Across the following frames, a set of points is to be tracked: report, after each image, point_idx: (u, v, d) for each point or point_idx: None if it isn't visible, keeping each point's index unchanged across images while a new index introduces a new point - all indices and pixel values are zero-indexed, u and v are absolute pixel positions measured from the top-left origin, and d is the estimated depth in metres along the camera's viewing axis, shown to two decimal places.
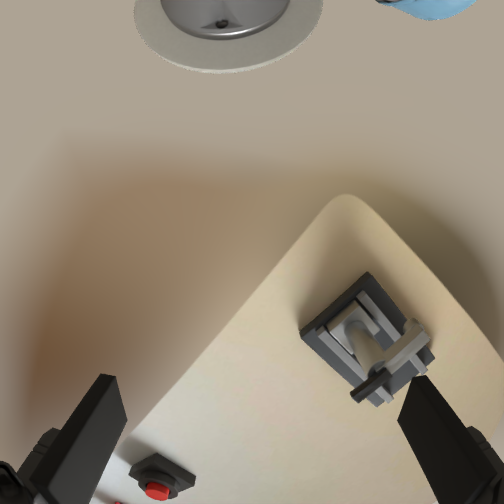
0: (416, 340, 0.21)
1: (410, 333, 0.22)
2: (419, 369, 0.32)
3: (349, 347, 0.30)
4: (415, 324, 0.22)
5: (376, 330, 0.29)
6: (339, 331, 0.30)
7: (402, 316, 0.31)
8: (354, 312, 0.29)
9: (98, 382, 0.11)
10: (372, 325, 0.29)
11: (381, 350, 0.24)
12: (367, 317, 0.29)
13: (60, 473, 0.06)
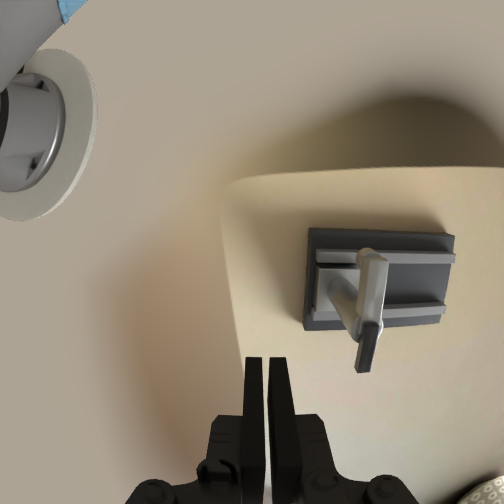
0: (372, 276, 0.18)
1: (363, 271, 0.19)
2: (445, 261, 0.27)
3: None
4: (361, 257, 0.19)
5: (359, 273, 0.26)
6: (324, 303, 0.27)
7: (380, 234, 0.28)
8: (321, 278, 0.26)
9: (249, 364, 0.13)
10: (350, 272, 0.26)
11: (355, 305, 0.21)
12: (338, 271, 0.26)
13: None
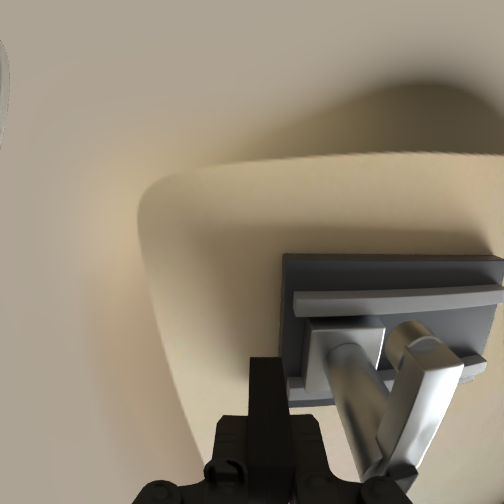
0: (423, 399, 0.07)
1: (402, 382, 0.07)
2: (494, 301, 0.15)
3: None
4: (402, 351, 0.08)
5: (379, 333, 0.15)
6: (319, 381, 0.15)
7: (402, 263, 0.16)
8: (314, 345, 0.15)
9: (254, 365, 0.13)
10: (365, 334, 0.15)
11: (375, 423, 0.09)
12: (344, 332, 0.15)
13: None
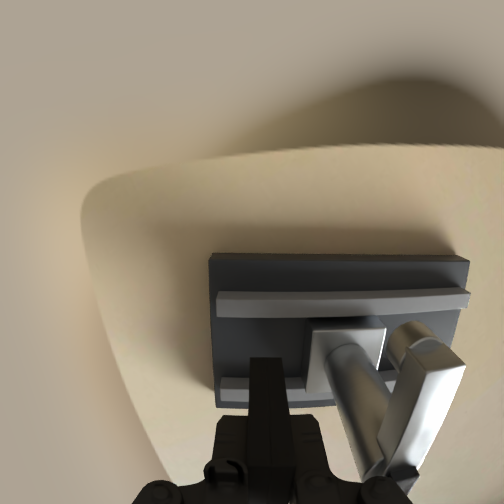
0: (425, 400, 0.06)
1: (404, 383, 0.07)
2: (453, 306, 0.15)
3: None
4: (403, 352, 0.08)
5: (380, 334, 0.15)
6: (319, 382, 0.15)
7: (337, 264, 0.16)
8: (314, 345, 0.15)
9: (254, 365, 0.13)
10: (366, 334, 0.15)
11: (376, 424, 0.09)
12: (345, 333, 0.15)
13: None
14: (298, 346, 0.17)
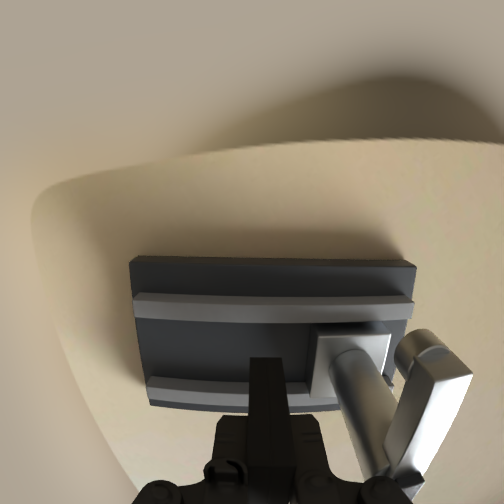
0: (432, 408, 0.06)
1: (412, 392, 0.07)
2: (392, 317, 0.15)
3: None
4: (412, 361, 0.07)
5: (385, 340, 0.14)
6: (324, 387, 0.15)
7: (253, 268, 0.16)
8: (319, 351, 0.15)
9: (254, 365, 0.13)
10: (370, 340, 0.14)
11: (382, 430, 0.09)
12: (350, 338, 0.14)
13: None
14: (220, 350, 0.17)
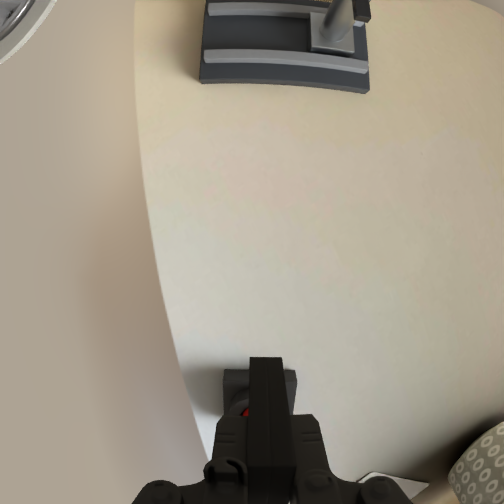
0: None
1: None
2: None
3: (344, 47, 0.22)
4: None
5: None
6: (319, 39, 0.22)
7: None
8: (312, 18, 0.21)
9: (254, 365, 0.13)
10: None
11: None
12: None
13: None
14: (254, 34, 0.24)
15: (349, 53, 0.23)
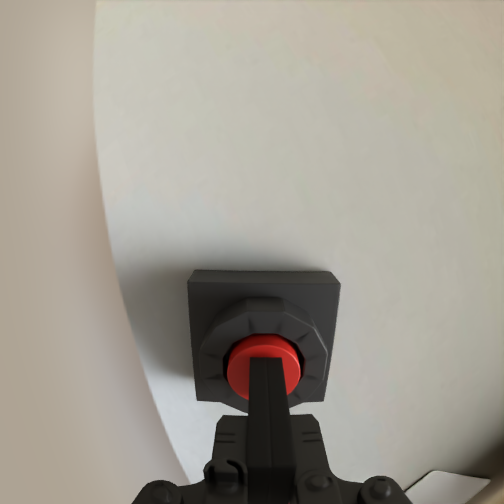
0: None
1: None
2: None
3: None
4: None
5: None
6: None
7: None
8: None
9: (254, 365, 0.13)
10: None
11: None
12: None
13: None
14: None
15: None
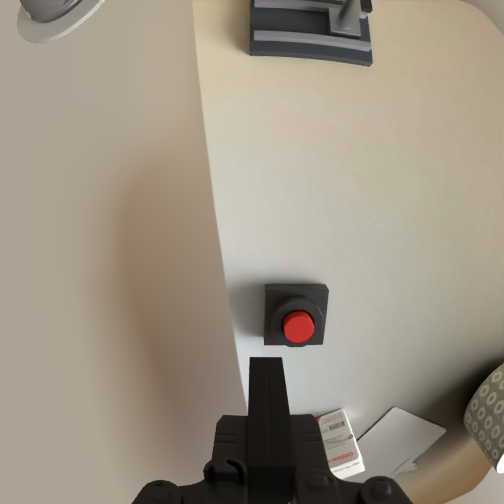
0: None
1: None
2: None
3: (354, 32, 0.30)
4: None
5: None
6: (336, 26, 0.30)
7: None
8: (330, 11, 0.29)
9: (254, 365, 0.13)
10: None
11: None
12: None
13: None
14: (288, 22, 0.31)
15: (357, 36, 0.30)
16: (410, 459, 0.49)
